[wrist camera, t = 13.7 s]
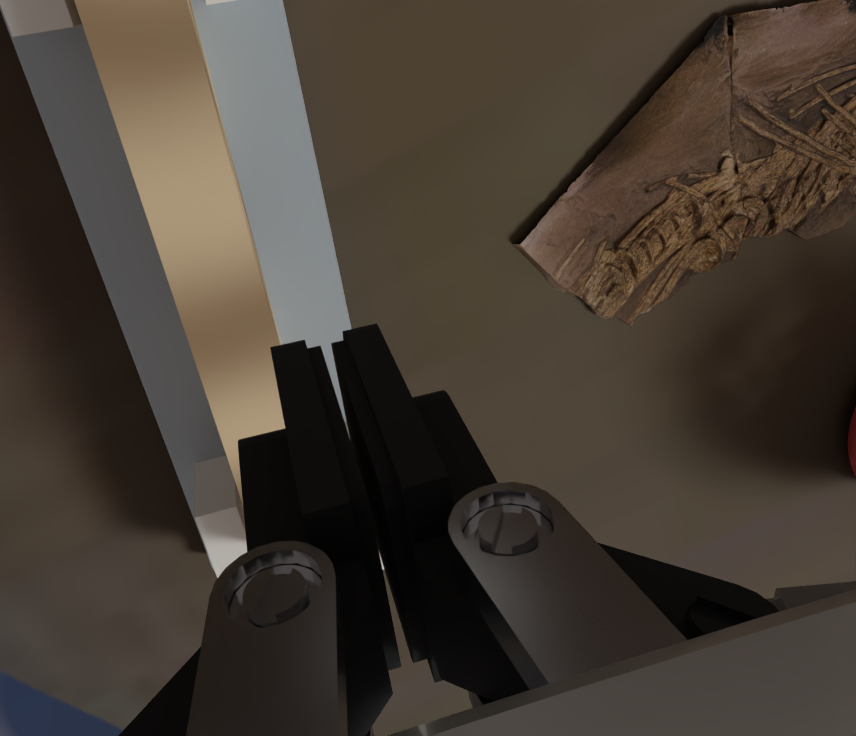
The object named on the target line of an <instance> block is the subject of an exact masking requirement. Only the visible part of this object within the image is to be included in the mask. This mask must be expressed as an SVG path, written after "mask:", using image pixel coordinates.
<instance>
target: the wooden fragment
mask: <svg viewBox="0 0 856 736" xmlns="http://www.w3.org/2000/svg"><path fill="white" fill-rule="evenodd" d="M729 17H731V18H732V19H733V22H734V23H732V25H733V26H734V27H733V36H728V34H727V25H730V23H727V20H728V16H726V15H724V16H722V17H719V18H718V19H717V20H716V22H715V23H714V25H713V26H712V27H711V28H710V29H709V31H708V34H707V35H706V37H705V38H704V41H703V42H702V43H701V44H700V45H699V46H698V47H696V48H695V50H694V51H693V52H692V53H691V54H690V55H689V56H688V58H687V59H686V60H685V61H684V62H683V63H682V64H681V66H680V67H679V69H677V70H676V71H675V72H674V73H673V74H672V76H671V77H670V78H669V79H668V80H667V81H666V82H665V83H664V84H663V85H662V86H661V87H660V88H659V89H658V90H657V91H656V93H655V94H654V95H653V96H652V97H651V98H650V100H649V101H648V103H647V104H645V105H644V106H643V107H642V108H641V109H640V111H639V112H638V113H637V114H636V115H635V116H634V117H633V118H632V119H631V120H630V121H629V123H628V124H627V125H626V126H625V127H624V128H623V129H622V130H621V131H620V133H619V134H618V135H617V136H615V137H614V139H613V140H612V141H611V142H610V143H609V144H608V146H607V147H606V148H605V149H604V150H603V151H602V152H601V153H600V154H599V155H598V156H597V157H596V159H595V160H594V161H593V162H592V163H591V164H590V165H589V166H588V167H587V168H586V169H585V171H584V172H583V173H582V174H581V176H580V177H579V178H577V179H576V181H575V182H573V183H572V184H571V185H570V186H569V188H568V190H567V192H565V193H563V195H562V196H561V197H560V198H559V199H558V200H557V201H556V203H555V204H554V205H553V206H552V207H551V208H550V210H549V211H548V212H547V214H546V215H545V216H544V217H543V218H542V219H541V220H540V222H539V223H538V225H537V226H536V228H534V229H533V230H532V231H531V233H530V234H529V235H528V236H527V237H526V238H525V240H524V241H523V242H522V243H521V244H520V245H519V244H513V245H514V246H515V247H516V248H518V249H519V250H520V251H521V252H522V253H523V254H524V255H525V256H526V257H527V258H528V259H529V260H530V261H531V262H532V264H533V265H534V266H535V267H536V268H537V269H538V270H539V271H540V272H541V273H542V274H543V276H544V277H545V279H546V280H547V282H548V283H549V284H550V285H551V286H552V287H553V288H554V289H555V290H558V291H560V292H563V293H565V294H570V295H575V296H577V297H579V298H580V299H582V300H583V301H584V302H585V303H586V304H587V305H588V306H589V307H590V309H591V310H592V311H593V313H594V314H596V315H599V316H601V317H603V318H605V319H607V318H612V317H613V316H616V317H618V318H620V319H621V320H622V321H624V322H625V323H627V324H628V325H632V324H633V321H634V319H635V318H636V316H637V315H640V314H642V313H646V312H649V311H650V310H651V308H652V307H654V306H656V305H657V304H659V303H661V302H662V301H664V300H666V299H669V298H671V297H672V296H673V295H675V294H676V293H678V292H679V291H680V290H682V289H683V288H684V287H685V286H686V285H687V284H688V281H689V276H691V275H694V274H696V273H697V274H700V273H701V272H702V271H711V270H712V269H714V268H716V267H717V266H718V265H720V264H721V262H725V261H729V260H734V259H735V258H736V257H737V256H738V253H737V251H738V249H739V247H740V245H741V240H743V239H751V238H752V237H753V236H757V237H765V238H768V237H770V236H772V235H776V234H781V233H783V232H784V231H785V230H788V231H791V232H792V233H794V234H795V235H798V236H800V237H801V238H803V239H804V240H807V239H812V238H814V237H818V236H822V235H824V234H826V233H828V232H830V231H832V230H834V229H838V228H841V227H843V226H844V224H845V222H846V221H847V220H848V219H850V218H851V217H852V216H853V215H854V214H855V212H856V0H819V1H814V2H809V3H800V4H797V5H794V6H791V7H786V6H785V7H783V8H782V9H781V8H780V7H779V8H778V9H777V10H776V8H772V9H763V10H757V11H751V12H746V13H739V14H734V15H730V16H729Z"/></svg>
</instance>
